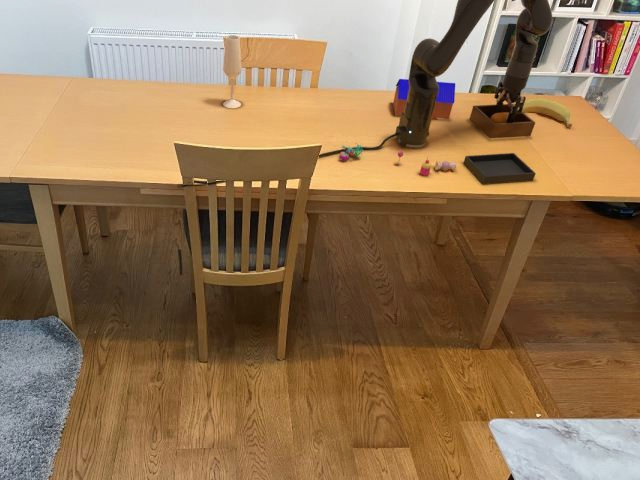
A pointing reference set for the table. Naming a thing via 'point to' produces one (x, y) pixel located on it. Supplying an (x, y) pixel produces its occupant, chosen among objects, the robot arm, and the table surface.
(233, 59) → the champagne flute
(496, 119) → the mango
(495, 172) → the tray
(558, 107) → the banana
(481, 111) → the brown wooden box
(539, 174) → the table surface
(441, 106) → the house
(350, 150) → the anatomy model
